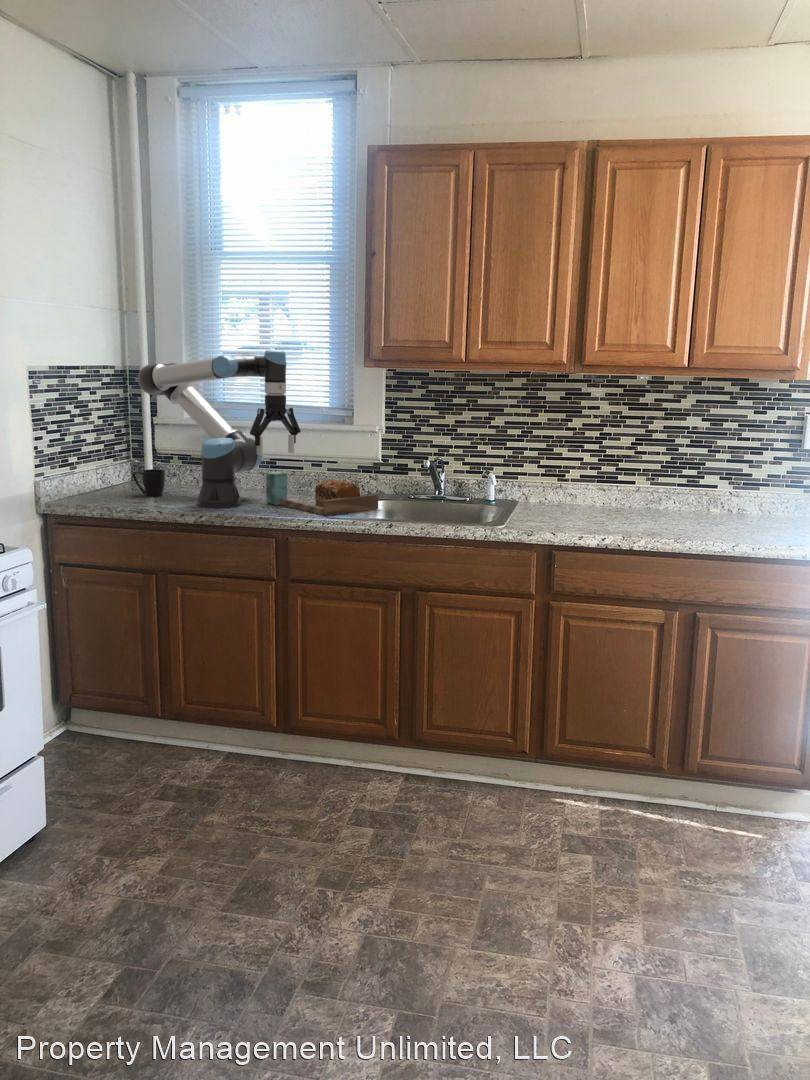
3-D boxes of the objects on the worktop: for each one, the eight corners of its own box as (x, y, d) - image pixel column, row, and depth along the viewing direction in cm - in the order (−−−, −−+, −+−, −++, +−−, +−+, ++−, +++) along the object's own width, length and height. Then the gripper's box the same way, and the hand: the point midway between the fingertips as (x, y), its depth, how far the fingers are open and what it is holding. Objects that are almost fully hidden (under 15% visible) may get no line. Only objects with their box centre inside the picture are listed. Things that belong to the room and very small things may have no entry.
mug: (138, 493, 350) (137, 468, 348) (168, 494, 349) (168, 469, 347) (130, 496, 342) (129, 471, 340) (161, 497, 341) (160, 472, 339)
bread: (360, 511, 324) (361, 483, 322) (333, 512, 319) (333, 484, 317) (340, 502, 340) (340, 476, 338) (313, 504, 335) (313, 477, 333)
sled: (266, 502, 335) (266, 472, 332) (322, 496, 351) (322, 467, 349) (320, 516, 310) (320, 484, 308) (378, 508, 327) (378, 478, 325)
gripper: (251, 395, 315) (251, 456, 320) (310, 394, 331) (309, 452, 336) (239, 394, 320) (240, 454, 325) (298, 393, 337) (297, 450, 341)
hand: (275, 453), depth 330 cm, fingers open, 13 cm apart
